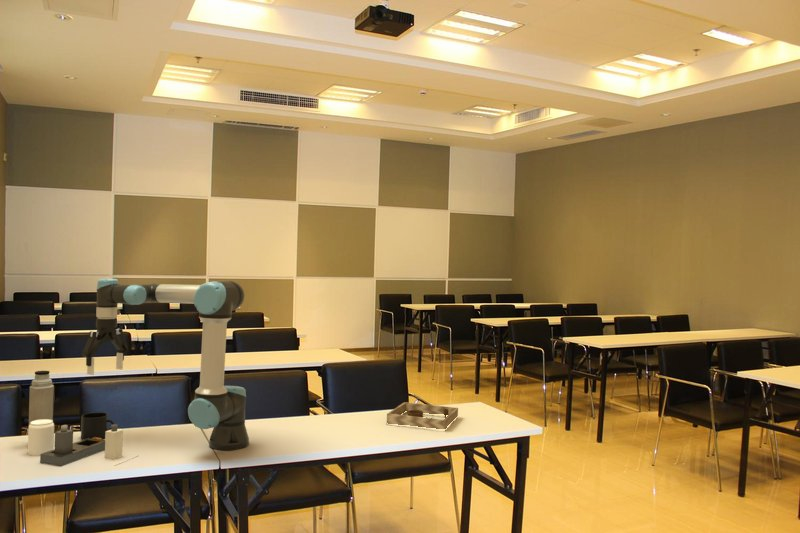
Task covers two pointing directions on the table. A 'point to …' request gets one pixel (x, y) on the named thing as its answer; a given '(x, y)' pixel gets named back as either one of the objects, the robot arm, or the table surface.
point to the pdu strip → (74, 452)
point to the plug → (113, 442)
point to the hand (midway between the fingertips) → (105, 371)
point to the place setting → (420, 414)
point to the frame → (399, 419)
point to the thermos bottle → (41, 397)
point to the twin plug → (63, 441)
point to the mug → (94, 425)
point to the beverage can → (40, 436)
